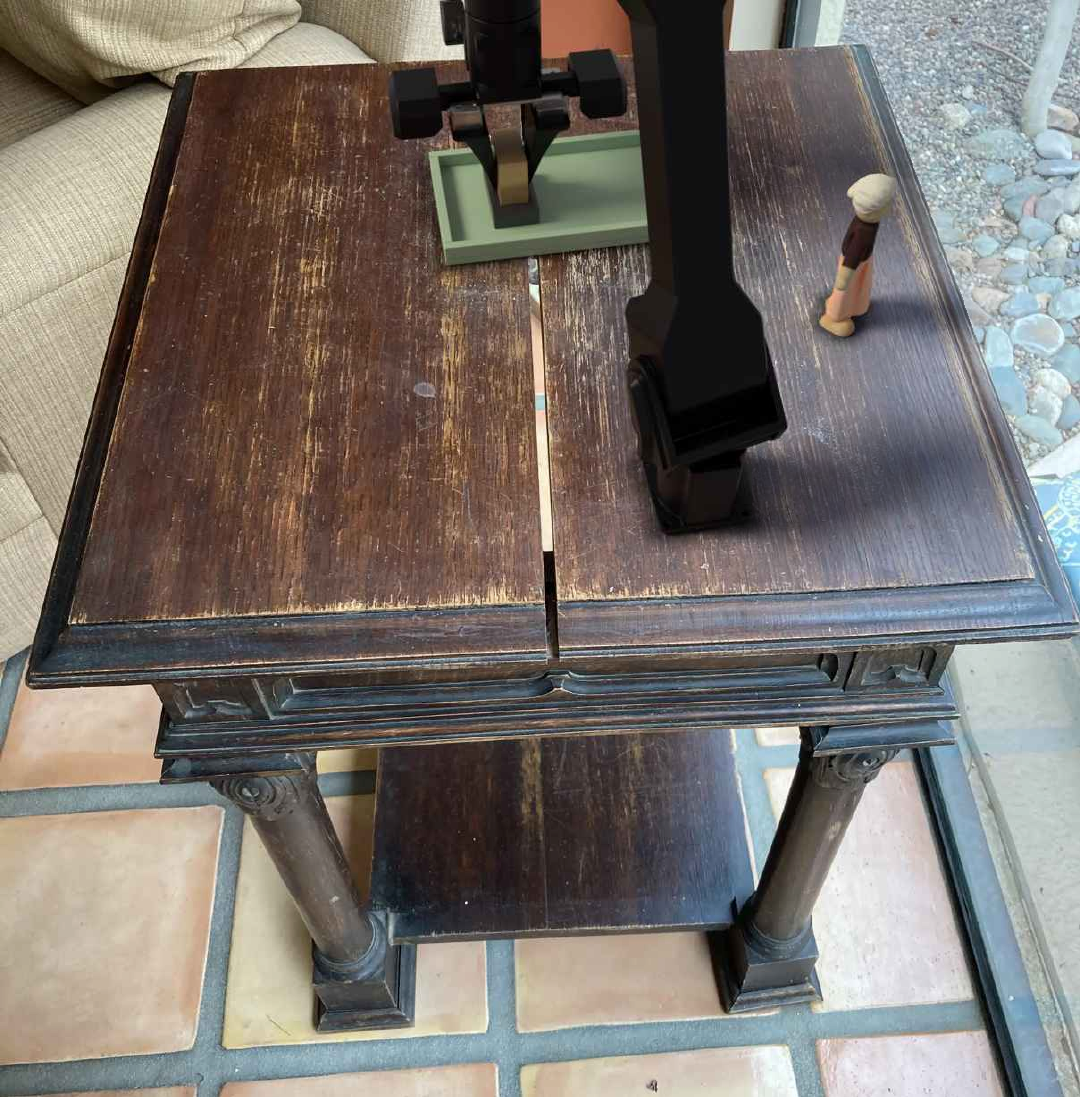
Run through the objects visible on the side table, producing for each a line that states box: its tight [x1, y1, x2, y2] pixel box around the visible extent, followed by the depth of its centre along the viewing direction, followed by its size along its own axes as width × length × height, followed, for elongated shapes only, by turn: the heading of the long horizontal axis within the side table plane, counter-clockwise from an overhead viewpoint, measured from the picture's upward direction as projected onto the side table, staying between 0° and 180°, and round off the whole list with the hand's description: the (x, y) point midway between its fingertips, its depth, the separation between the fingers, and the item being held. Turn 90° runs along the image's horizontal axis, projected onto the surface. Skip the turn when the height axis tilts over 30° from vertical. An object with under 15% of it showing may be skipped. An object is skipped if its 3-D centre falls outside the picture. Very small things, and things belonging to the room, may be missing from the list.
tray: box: [428, 128, 649, 266], centre depth 92 cm, size 14×22×2 cm, turn 99°
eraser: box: [483, 126, 540, 228], centre depth 90 cm, size 7×4×6 cm, turn 9°
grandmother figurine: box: [819, 173, 899, 338], centre depth 79 cm, size 8×4×13 cm, turn 168°
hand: (510, 184), depth 91 cm, fingers closed on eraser, 2 cm apart
